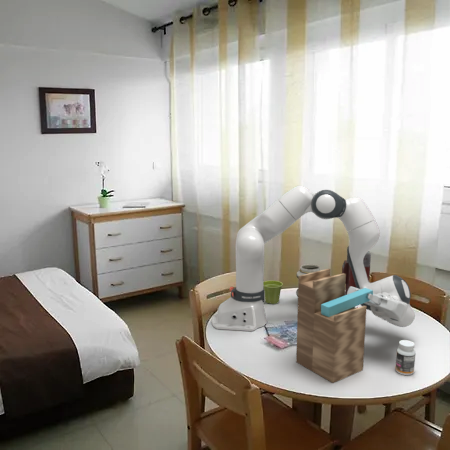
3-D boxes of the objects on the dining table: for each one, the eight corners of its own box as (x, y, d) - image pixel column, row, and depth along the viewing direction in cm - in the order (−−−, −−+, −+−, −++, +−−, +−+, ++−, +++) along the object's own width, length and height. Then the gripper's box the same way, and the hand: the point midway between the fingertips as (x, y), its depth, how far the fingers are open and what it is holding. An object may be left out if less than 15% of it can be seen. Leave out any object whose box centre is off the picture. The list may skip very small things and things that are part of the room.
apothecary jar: (290, 303, 215) (291, 264, 211) (312, 298, 220) (313, 261, 216) (306, 312, 204) (307, 272, 200) (328, 307, 209) (330, 268, 206)
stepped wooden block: (332, 383, 148) (337, 289, 142) (296, 362, 161) (298, 275, 155) (362, 370, 156) (368, 281, 149) (325, 351, 169) (328, 268, 163)
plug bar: (328, 317, 148) (328, 307, 147) (321, 313, 150) (321, 304, 150) (372, 299, 159) (373, 290, 159) (365, 296, 162) (365, 287, 161)
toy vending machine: (340, 295, 224) (342, 237, 219) (364, 296, 223) (367, 237, 218) (342, 302, 216) (345, 241, 210) (368, 302, 214) (371, 242, 209)
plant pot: (268, 307, 210) (269, 288, 208) (257, 300, 218) (257, 282, 217) (286, 303, 214) (286, 285, 213) (274, 297, 223) (275, 279, 221)
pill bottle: (392, 367, 157) (394, 339, 155) (408, 366, 158) (411, 338, 156) (399, 376, 152) (402, 347, 150) (417, 375, 152) (419, 346, 150)
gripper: (363, 289, 175) (341, 277, 167) (413, 306, 158) (391, 293, 150) (356, 305, 174) (335, 293, 166) (406, 323, 158) (384, 312, 150)
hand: (362, 293), depth 158 cm, fingers closed on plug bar, 3 cm apart
